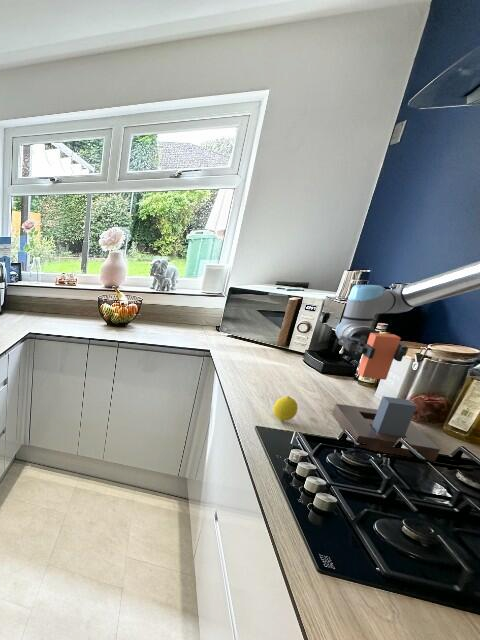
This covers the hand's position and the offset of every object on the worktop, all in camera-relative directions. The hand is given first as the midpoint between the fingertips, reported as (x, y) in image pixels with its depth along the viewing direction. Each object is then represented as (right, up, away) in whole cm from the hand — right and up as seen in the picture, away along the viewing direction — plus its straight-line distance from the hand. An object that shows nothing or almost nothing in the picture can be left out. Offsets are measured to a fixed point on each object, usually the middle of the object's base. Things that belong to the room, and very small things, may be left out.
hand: (386, 355), depth 108 cm
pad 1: (+3, -6, +7) cm, 9 cm away
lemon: (-19, -19, +12) cm, 30 cm away
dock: (0, -22, +3) cm, 22 cm away
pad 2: (-2, -24, -1) cm, 24 cm away
